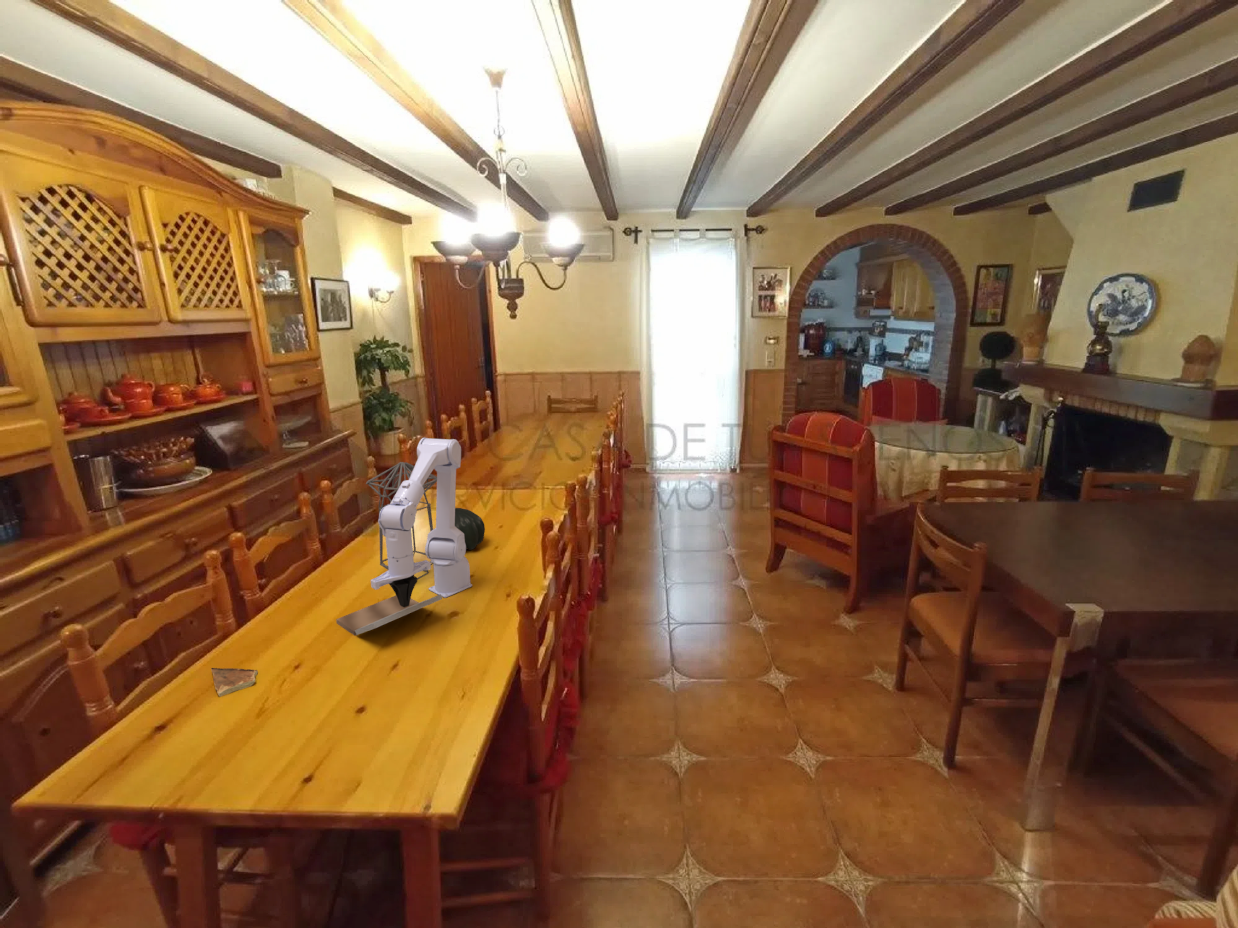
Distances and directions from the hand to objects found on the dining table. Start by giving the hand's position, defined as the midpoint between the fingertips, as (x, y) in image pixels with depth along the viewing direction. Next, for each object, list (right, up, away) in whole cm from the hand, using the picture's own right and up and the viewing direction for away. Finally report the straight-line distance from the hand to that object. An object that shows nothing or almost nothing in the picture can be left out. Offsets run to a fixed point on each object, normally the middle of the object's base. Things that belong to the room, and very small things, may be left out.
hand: (404, 605), depth 135 cm
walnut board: (-10, -5, +9) cm, 14 cm away
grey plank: (-2, -3, +2) cm, 5 cm away
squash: (-1, +6, +54) cm, 54 cm away
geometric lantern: (-11, +1, +33) cm, 35 cm away
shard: (-30, -12, -18) cm, 38 cm away
